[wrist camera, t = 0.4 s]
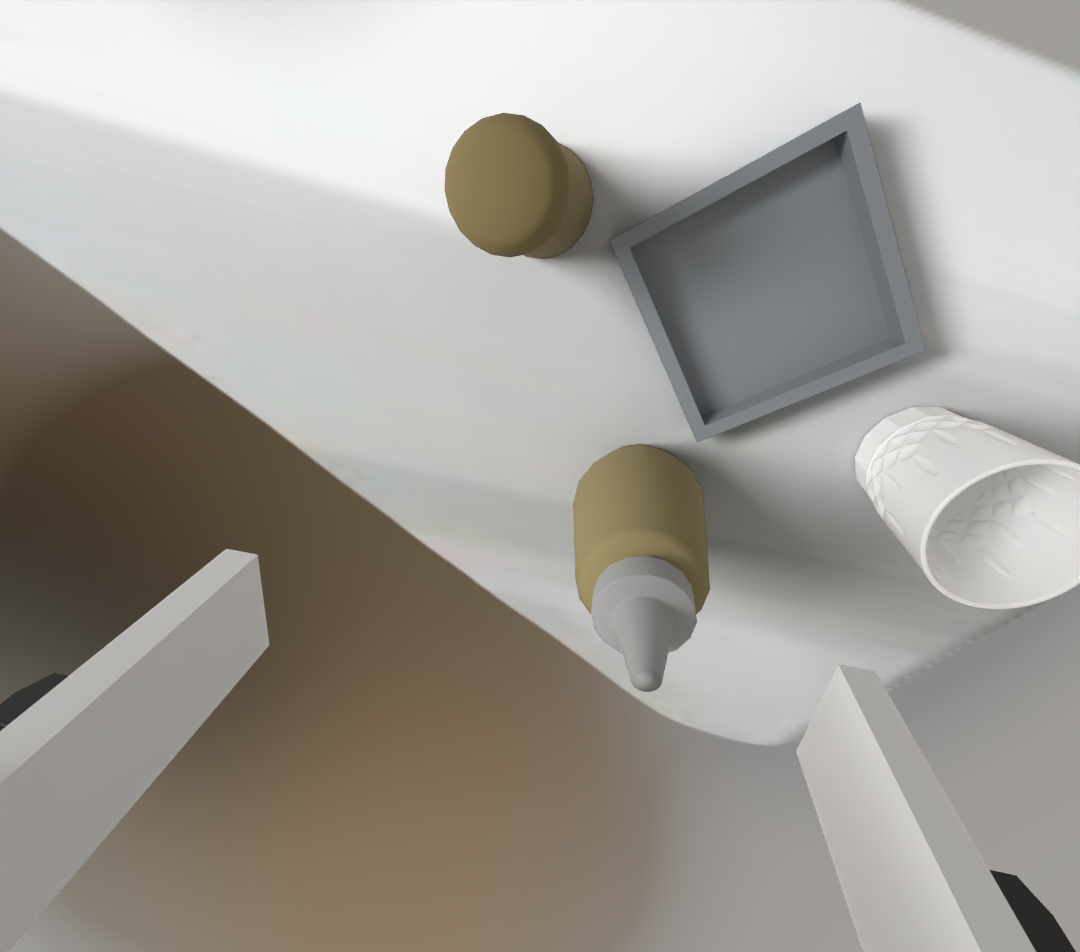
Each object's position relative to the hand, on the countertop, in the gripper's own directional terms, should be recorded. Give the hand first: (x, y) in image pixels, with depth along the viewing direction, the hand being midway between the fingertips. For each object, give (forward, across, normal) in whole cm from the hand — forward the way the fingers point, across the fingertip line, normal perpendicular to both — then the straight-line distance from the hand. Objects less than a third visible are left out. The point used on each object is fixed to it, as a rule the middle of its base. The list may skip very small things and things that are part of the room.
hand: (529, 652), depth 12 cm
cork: (+25, -4, +10) cm, 27 cm away
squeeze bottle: (+25, +4, -6) cm, 26 cm away
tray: (+24, +9, +7) cm, 27 cm away
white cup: (+25, +21, -2) cm, 32 cm away
